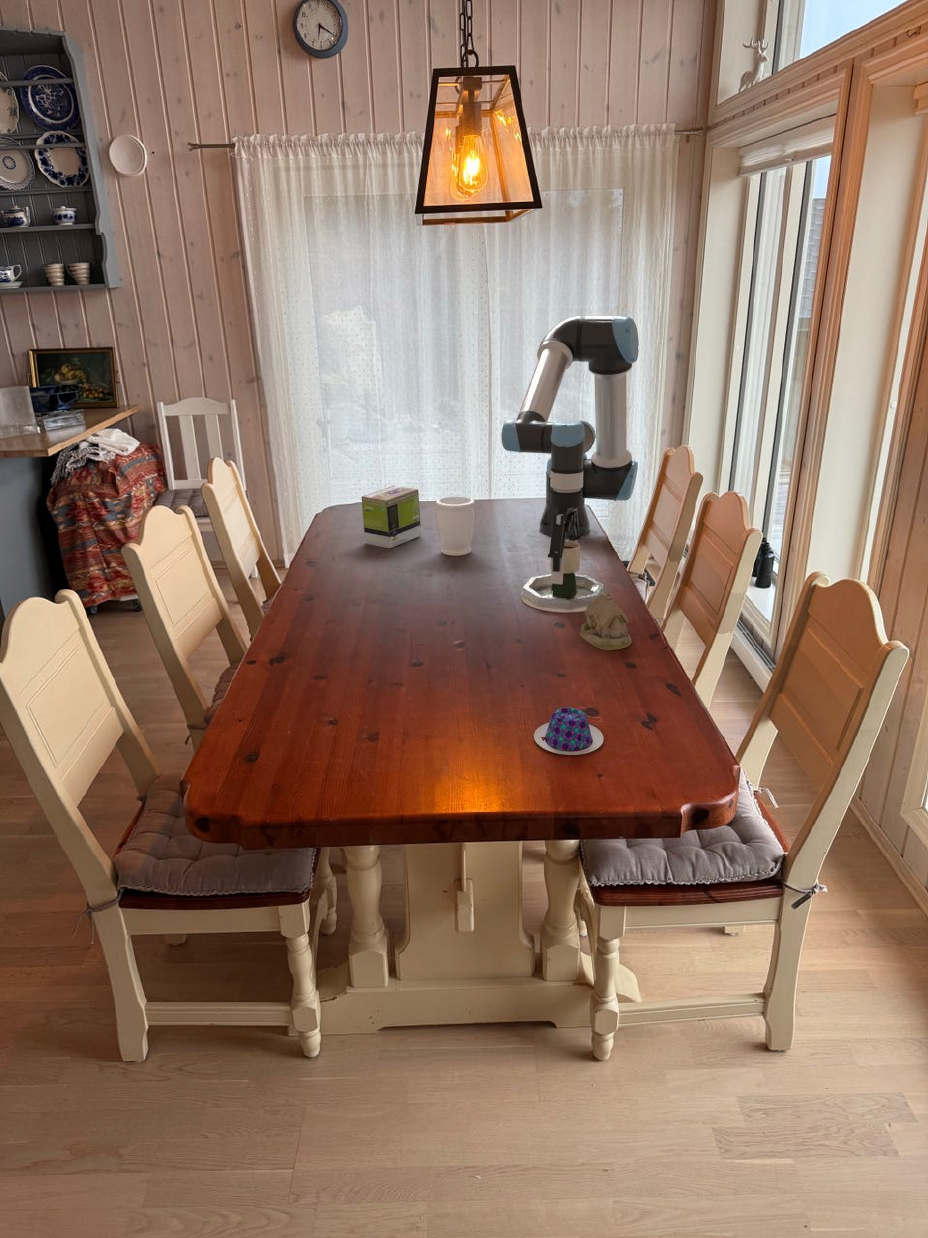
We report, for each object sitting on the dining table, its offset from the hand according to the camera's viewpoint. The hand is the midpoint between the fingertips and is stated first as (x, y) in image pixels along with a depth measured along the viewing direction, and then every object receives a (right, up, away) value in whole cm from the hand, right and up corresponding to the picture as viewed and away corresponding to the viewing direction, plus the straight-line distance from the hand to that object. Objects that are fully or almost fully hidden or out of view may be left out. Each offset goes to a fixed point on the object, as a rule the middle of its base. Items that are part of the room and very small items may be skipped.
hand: (564, 574), depth 216 cm
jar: (-27, +8, +37) cm, 46 cm away
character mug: (0, -5, +2) cm, 6 cm away
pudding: (-6, -32, -62) cm, 70 cm away
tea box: (-45, +12, +49) cm, 68 cm away
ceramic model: (+7, -15, -21) cm, 27 cm away
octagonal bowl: (0, -5, +2) cm, 6 cm away
